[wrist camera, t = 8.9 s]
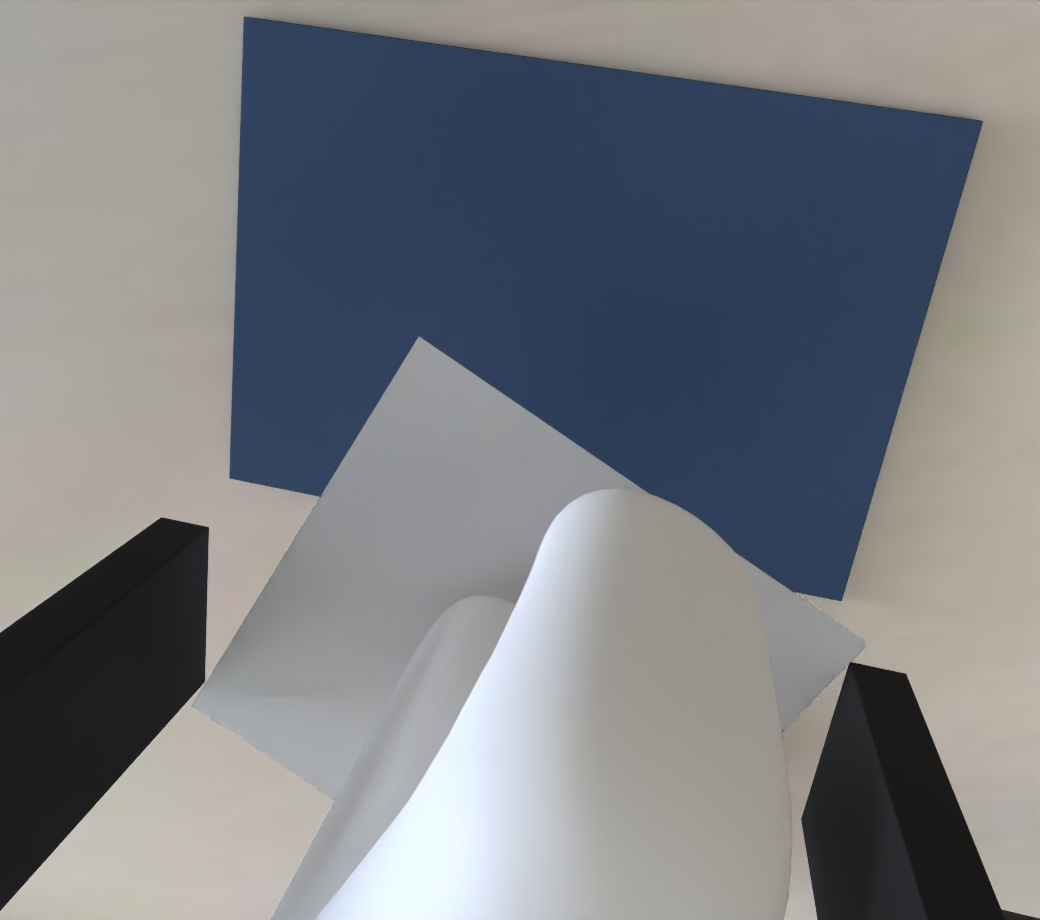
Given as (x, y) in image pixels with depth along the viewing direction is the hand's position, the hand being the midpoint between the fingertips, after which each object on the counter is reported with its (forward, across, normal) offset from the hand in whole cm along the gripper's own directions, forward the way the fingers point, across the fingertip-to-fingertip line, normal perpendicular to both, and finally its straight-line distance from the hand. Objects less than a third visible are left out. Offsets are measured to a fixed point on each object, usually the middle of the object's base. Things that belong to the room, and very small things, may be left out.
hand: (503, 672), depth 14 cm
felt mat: (+15, -2, +2) cm, 16 cm away
